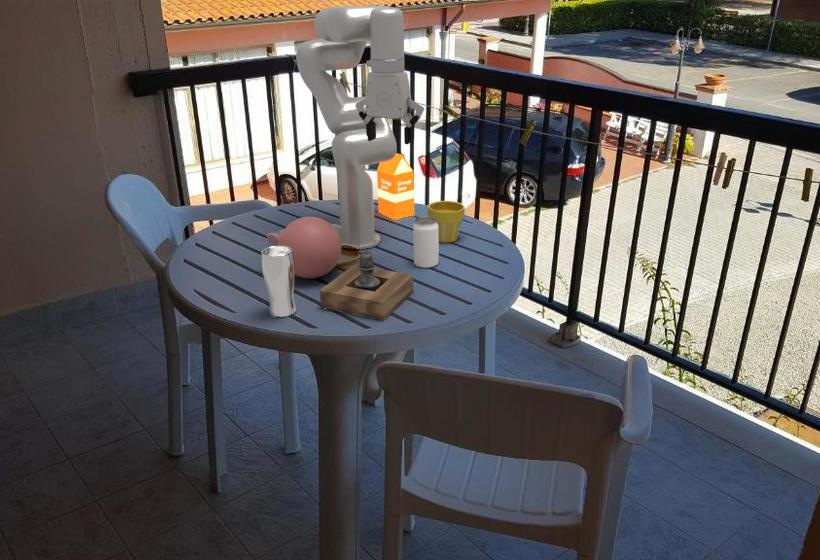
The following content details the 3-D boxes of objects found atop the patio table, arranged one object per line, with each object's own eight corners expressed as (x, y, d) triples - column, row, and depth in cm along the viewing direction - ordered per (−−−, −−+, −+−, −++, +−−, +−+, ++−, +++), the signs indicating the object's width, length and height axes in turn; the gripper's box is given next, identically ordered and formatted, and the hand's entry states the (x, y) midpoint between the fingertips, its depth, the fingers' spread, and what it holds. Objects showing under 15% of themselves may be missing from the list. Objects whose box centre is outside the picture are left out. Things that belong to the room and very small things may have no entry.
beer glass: (284, 322, 151) (277, 259, 145) (261, 314, 155) (253, 253, 149) (304, 309, 157) (299, 248, 151) (281, 302, 160) (275, 243, 154)
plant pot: (465, 233, 200) (466, 200, 196) (462, 246, 191) (462, 212, 187) (430, 231, 202) (430, 199, 198) (425, 244, 193) (425, 211, 188)
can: (442, 261, 181) (442, 218, 176) (432, 270, 176) (432, 226, 171) (419, 257, 184) (419, 215, 179) (409, 266, 178) (408, 222, 173)
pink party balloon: (288, 258, 185) (282, 203, 179) (353, 268, 178) (350, 212, 171) (254, 279, 172) (247, 222, 166) (323, 292, 165) (318, 232, 158)
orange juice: (397, 209, 221) (396, 147, 213) (414, 216, 214) (413, 153, 206) (378, 214, 216) (375, 152, 208) (394, 221, 210) (393, 157, 202)
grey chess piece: (377, 302, 157) (375, 253, 152) (352, 300, 158) (349, 252, 153) (383, 291, 163) (381, 244, 158) (359, 289, 164) (356, 242, 159)
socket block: (321, 308, 157) (319, 290, 155) (354, 281, 170) (353, 264, 169) (383, 320, 151) (382, 302, 149) (413, 291, 164) (413, 274, 162)
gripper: (346, 67, 156) (350, 142, 163) (415, 70, 149) (416, 148, 156) (361, 63, 162) (365, 135, 169) (429, 65, 155) (429, 140, 162)
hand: (390, 141), depth 163 cm, fingers open, 9 cm apart
